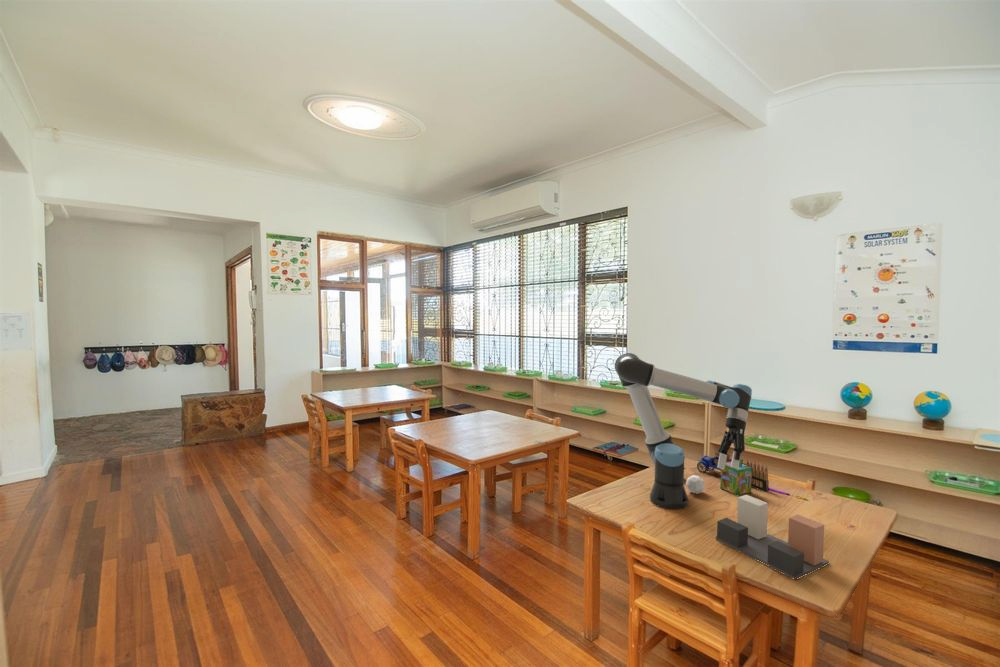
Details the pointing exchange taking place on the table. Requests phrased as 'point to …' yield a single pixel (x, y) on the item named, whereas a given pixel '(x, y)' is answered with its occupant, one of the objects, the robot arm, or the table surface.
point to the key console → (765, 549)
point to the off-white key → (753, 515)
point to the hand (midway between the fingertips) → (727, 468)
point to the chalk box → (736, 479)
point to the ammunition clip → (759, 476)
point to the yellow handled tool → (782, 492)
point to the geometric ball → (695, 484)
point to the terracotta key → (807, 538)
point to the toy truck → (712, 463)
